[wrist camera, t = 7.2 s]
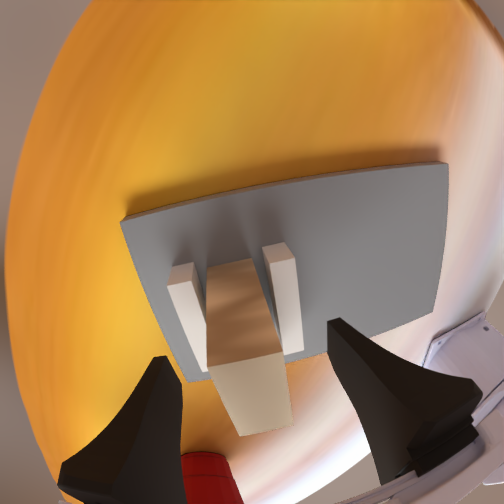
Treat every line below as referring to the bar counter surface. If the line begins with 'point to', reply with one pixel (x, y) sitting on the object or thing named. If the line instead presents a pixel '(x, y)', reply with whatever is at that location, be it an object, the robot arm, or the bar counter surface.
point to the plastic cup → (208, 479)
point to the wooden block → (245, 350)
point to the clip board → (299, 254)
